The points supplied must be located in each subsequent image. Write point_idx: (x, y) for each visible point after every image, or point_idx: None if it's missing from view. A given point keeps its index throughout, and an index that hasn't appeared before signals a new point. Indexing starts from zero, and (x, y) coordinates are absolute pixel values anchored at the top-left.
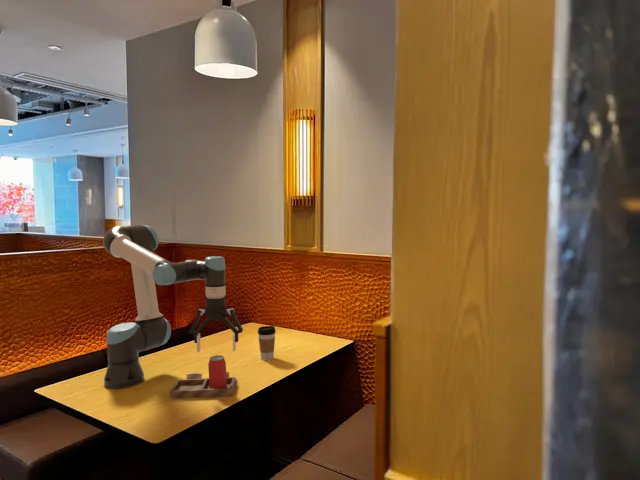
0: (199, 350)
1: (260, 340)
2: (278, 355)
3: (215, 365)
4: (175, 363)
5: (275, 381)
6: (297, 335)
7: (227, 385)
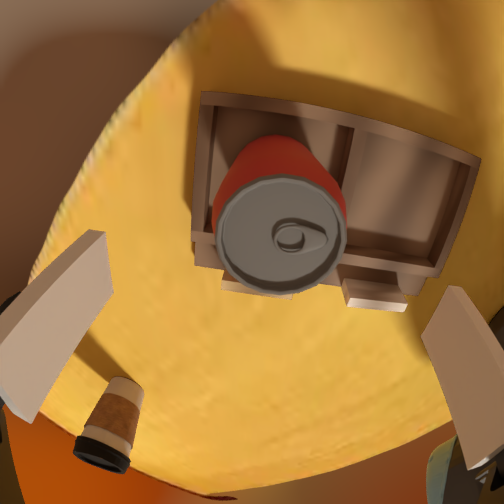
0: (445, 306)
1: (122, 434)
2: None
3: (293, 157)
4: (384, 411)
5: (59, 215)
6: None
7: None
